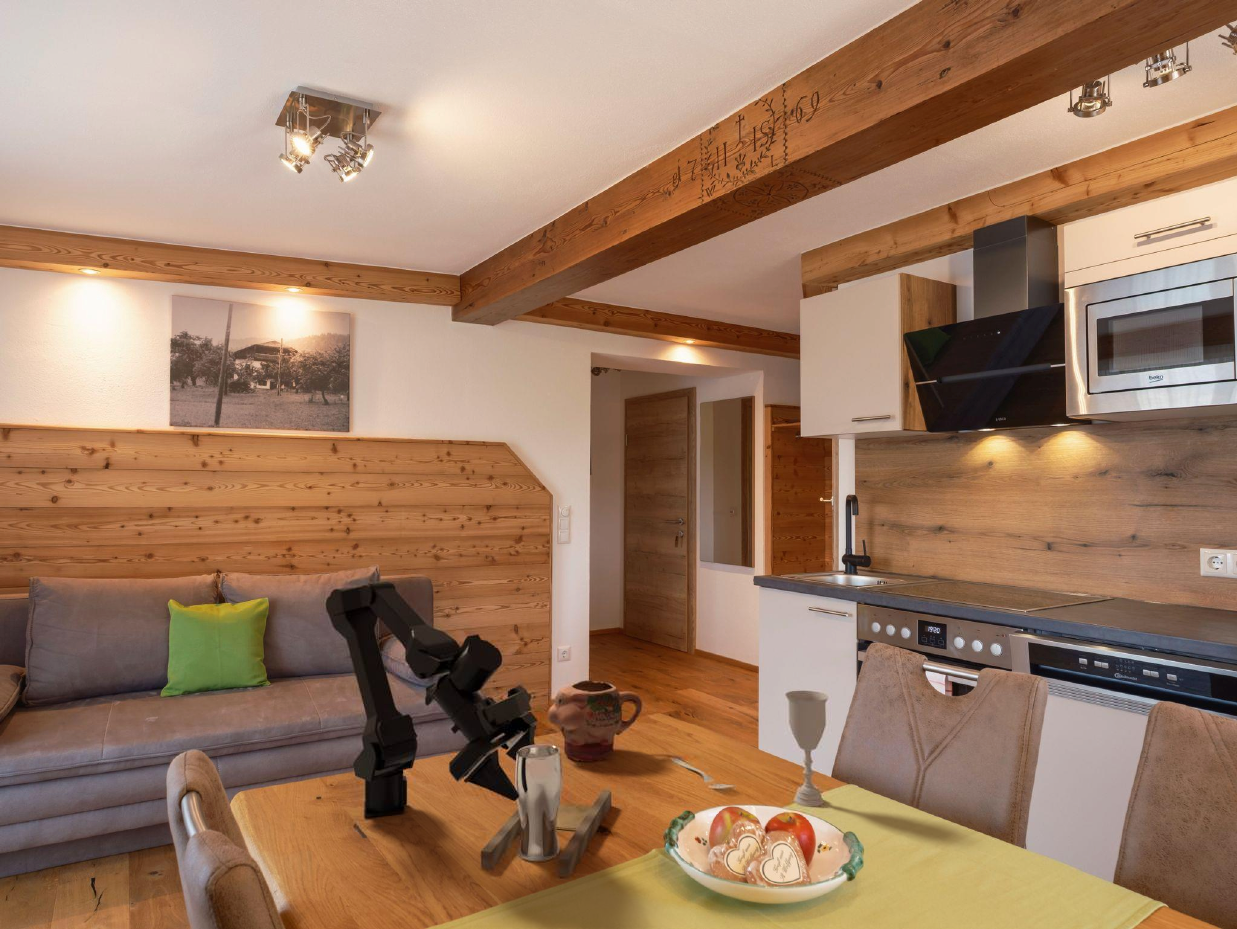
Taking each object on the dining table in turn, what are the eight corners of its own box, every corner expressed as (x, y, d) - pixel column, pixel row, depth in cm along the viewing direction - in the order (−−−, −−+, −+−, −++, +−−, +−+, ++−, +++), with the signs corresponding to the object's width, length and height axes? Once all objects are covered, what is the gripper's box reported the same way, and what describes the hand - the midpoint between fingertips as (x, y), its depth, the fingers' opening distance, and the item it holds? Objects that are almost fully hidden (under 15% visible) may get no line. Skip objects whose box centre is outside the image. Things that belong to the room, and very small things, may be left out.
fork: (672, 754, 164) (672, 746, 164) (738, 795, 142) (738, 785, 142) (658, 757, 162) (658, 748, 162) (723, 798, 140) (723, 788, 140)
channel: (568, 877, 111) (568, 859, 111) (481, 868, 114) (481, 851, 114) (611, 805, 136) (611, 790, 137) (538, 799, 139) (538, 785, 139)
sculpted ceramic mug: (628, 738, 173) (627, 674, 174) (653, 755, 162) (652, 686, 163) (540, 751, 165) (540, 683, 166) (559, 770, 154) (559, 697, 155)
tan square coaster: (584, 831, 126) (584, 828, 126) (527, 826, 128) (527, 823, 128) (598, 809, 135) (598, 806, 135) (544, 804, 137) (544, 802, 137)
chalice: (782, 804, 136) (780, 697, 137) (793, 790, 142) (791, 688, 143) (825, 811, 133) (823, 702, 134) (834, 797, 139) (832, 693, 140)
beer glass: (566, 843, 122) (565, 744, 123) (558, 864, 115) (557, 759, 116) (521, 841, 123) (520, 743, 123) (510, 862, 116) (510, 758, 116)
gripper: (466, 687, 113) (538, 773, 109) (525, 660, 131) (589, 734, 127) (419, 738, 116) (487, 825, 111) (483, 705, 133) (544, 779, 129)
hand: (531, 787), depth 120 cm, fingers open, 9 cm apart
